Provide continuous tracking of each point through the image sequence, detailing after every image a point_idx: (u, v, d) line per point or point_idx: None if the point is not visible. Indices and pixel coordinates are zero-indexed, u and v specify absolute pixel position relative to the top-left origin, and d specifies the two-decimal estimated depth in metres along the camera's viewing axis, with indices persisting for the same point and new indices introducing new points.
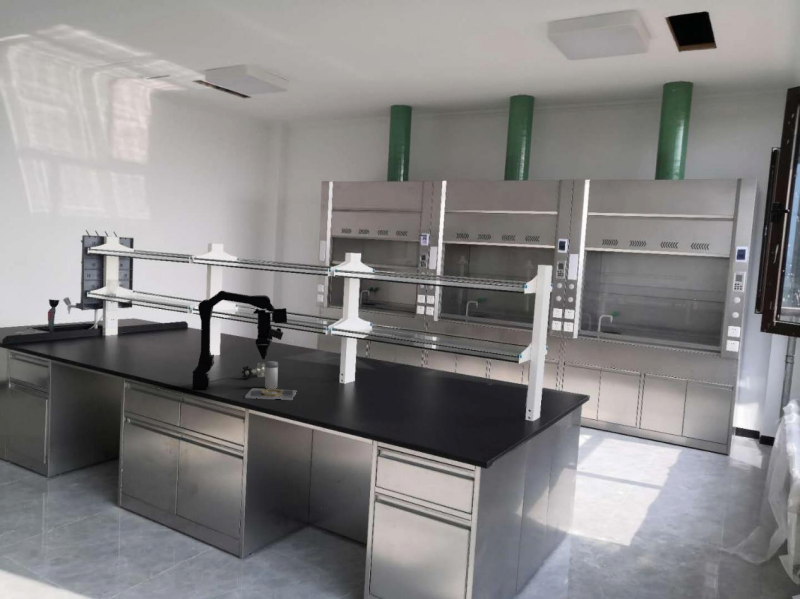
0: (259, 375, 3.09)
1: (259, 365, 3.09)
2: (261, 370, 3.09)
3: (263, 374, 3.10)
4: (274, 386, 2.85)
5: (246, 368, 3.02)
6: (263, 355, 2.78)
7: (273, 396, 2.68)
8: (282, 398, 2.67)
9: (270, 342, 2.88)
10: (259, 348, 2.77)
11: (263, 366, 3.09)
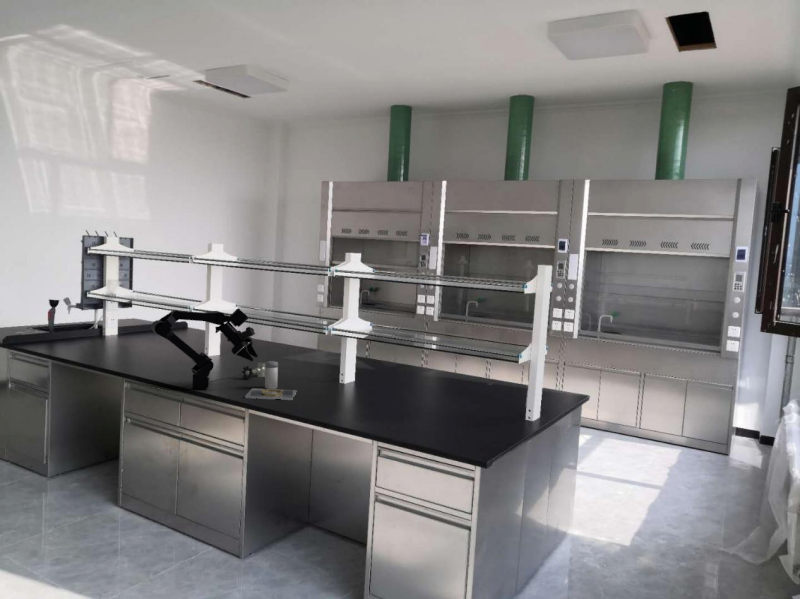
0: (259, 375, 3.09)
1: (259, 365, 3.09)
2: (261, 370, 3.09)
3: (263, 374, 3.10)
4: (274, 386, 2.85)
5: (246, 368, 3.02)
6: (249, 357, 2.81)
7: (273, 396, 2.68)
8: (282, 398, 2.67)
9: (251, 343, 2.91)
10: (241, 355, 2.80)
11: (263, 366, 3.10)
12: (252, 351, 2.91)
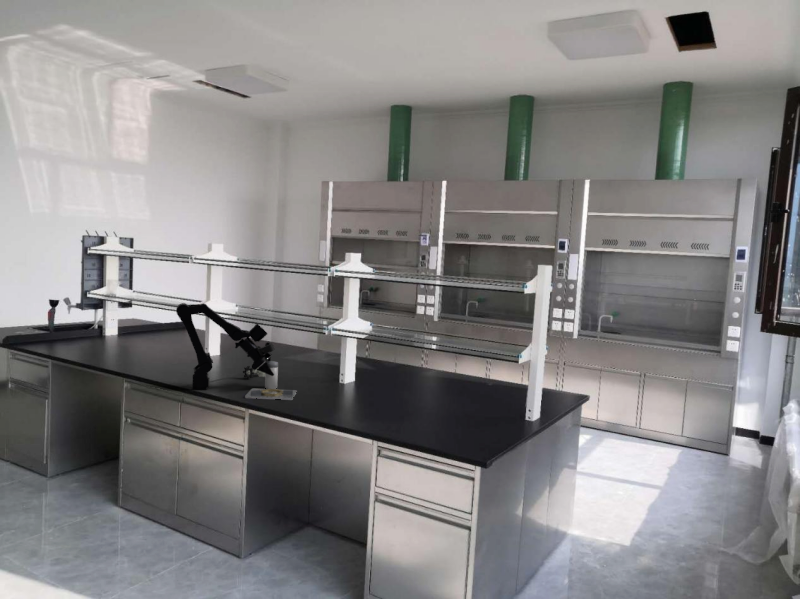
0: (260, 375, 3.10)
1: None
2: None
3: (264, 374, 3.10)
4: (274, 386, 2.85)
5: (247, 368, 3.02)
6: (270, 372, 2.83)
7: (273, 396, 2.68)
8: (282, 398, 2.67)
9: (270, 359, 2.90)
10: (262, 370, 2.82)
11: None
12: None
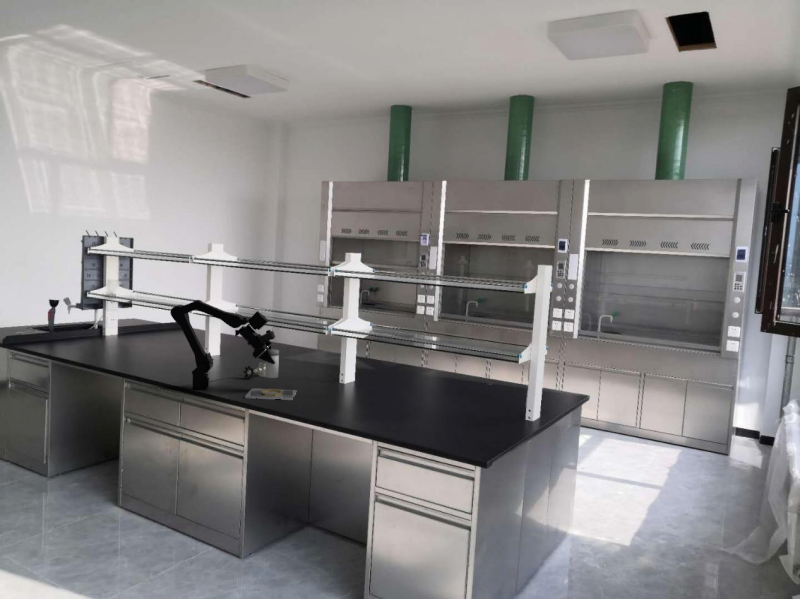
0: (261, 375, 3.10)
1: (261, 365, 3.09)
2: (263, 370, 3.09)
3: (265, 374, 3.11)
4: (275, 375, 2.80)
5: (248, 368, 3.03)
6: (271, 360, 2.78)
7: (273, 396, 2.68)
8: (282, 398, 2.67)
9: (270, 347, 2.84)
10: (263, 358, 2.77)
11: (265, 366, 3.10)
12: None
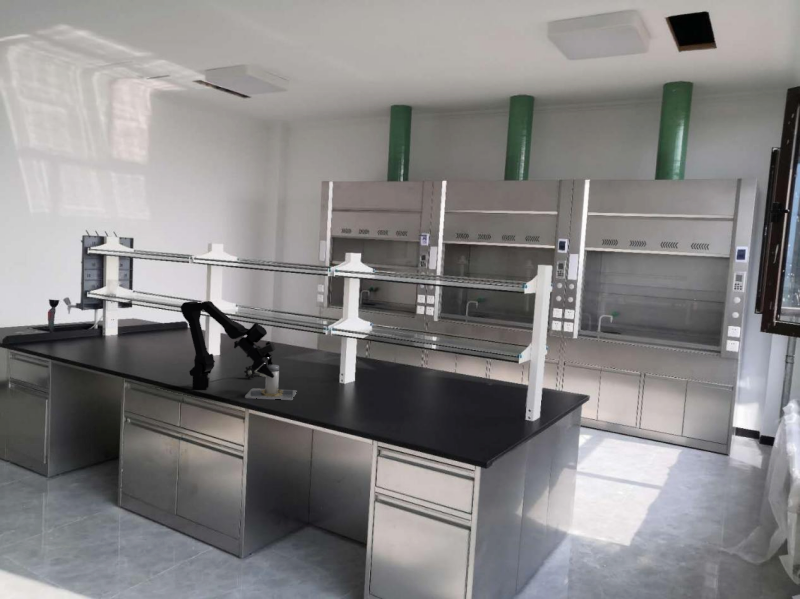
0: (261, 375, 3.10)
1: None
2: None
3: None
4: (275, 391, 2.72)
5: (249, 368, 3.03)
6: (270, 374, 2.68)
7: (273, 396, 2.68)
8: (282, 398, 2.67)
9: (271, 358, 2.78)
10: (261, 371, 2.67)
11: None
12: None
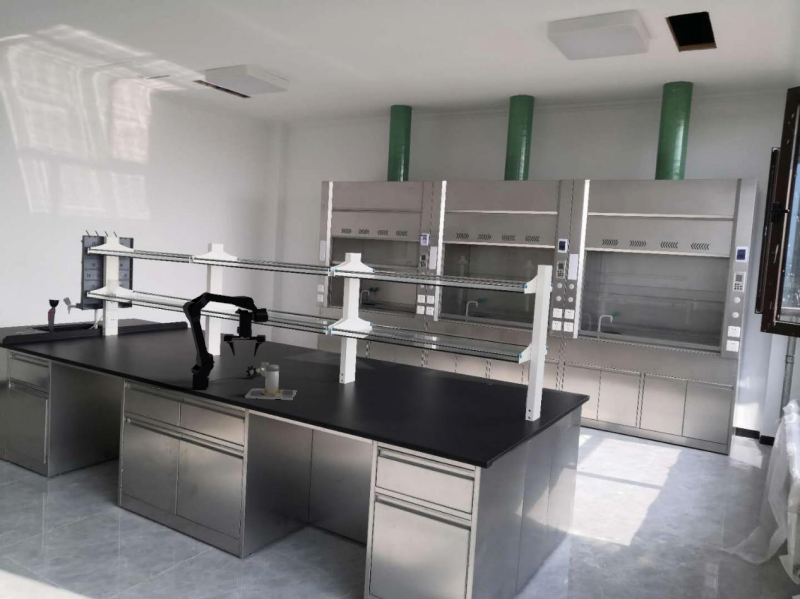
0: (263, 374, 3.11)
1: (263, 364, 3.11)
2: (265, 369, 3.11)
3: None
4: (275, 391, 2.72)
5: (251, 367, 3.04)
6: None
7: (273, 396, 2.68)
8: (282, 398, 2.67)
9: None
10: None
11: None
12: (234, 348, 2.91)
